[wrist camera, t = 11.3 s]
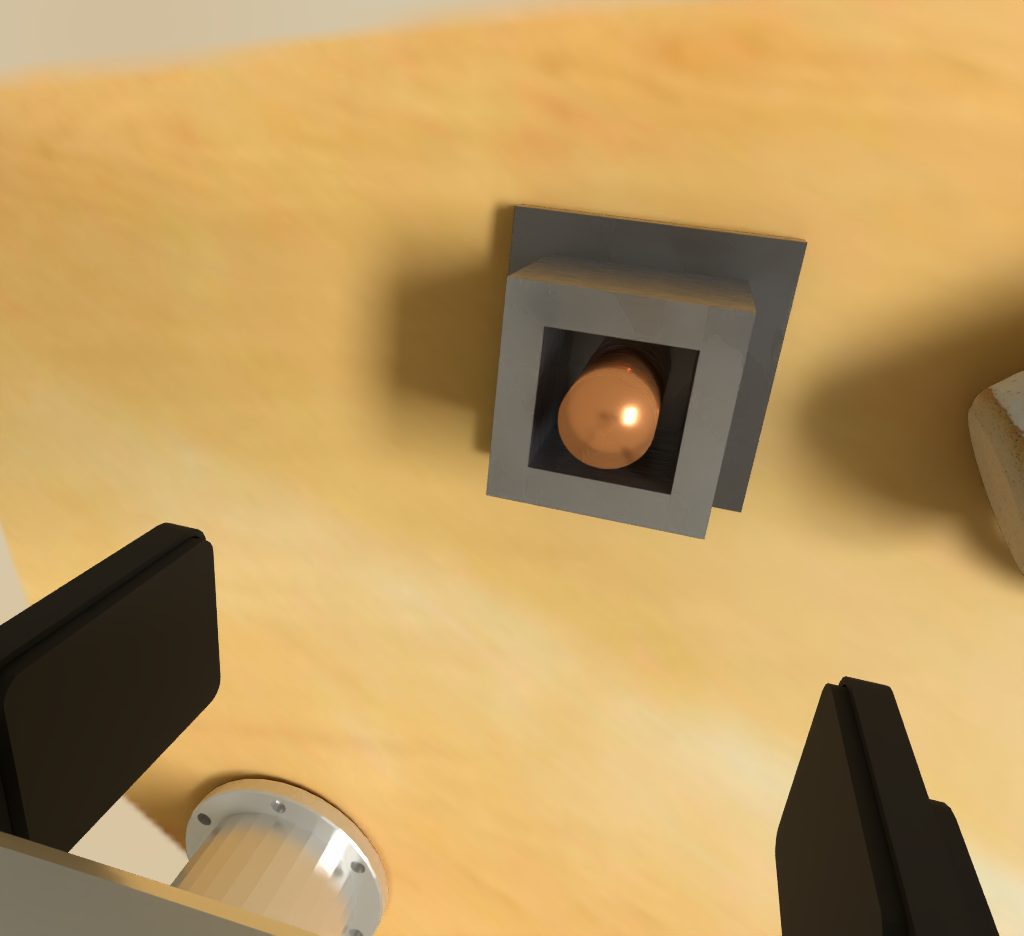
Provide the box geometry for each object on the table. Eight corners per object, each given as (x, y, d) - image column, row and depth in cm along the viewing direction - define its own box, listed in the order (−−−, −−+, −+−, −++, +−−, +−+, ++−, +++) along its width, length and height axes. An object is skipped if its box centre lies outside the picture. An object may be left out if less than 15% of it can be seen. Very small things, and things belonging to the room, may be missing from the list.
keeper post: (740, 501, 30) (746, 609, 23) (496, 455, 32) (430, 540, 25) (804, 239, 26) (835, 269, 19) (521, 204, 28) (451, 218, 21)
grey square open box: (707, 468, 29) (704, 539, 23) (528, 435, 30) (486, 495, 25) (749, 281, 26) (756, 313, 21) (549, 253, 27) (507, 276, 22)
